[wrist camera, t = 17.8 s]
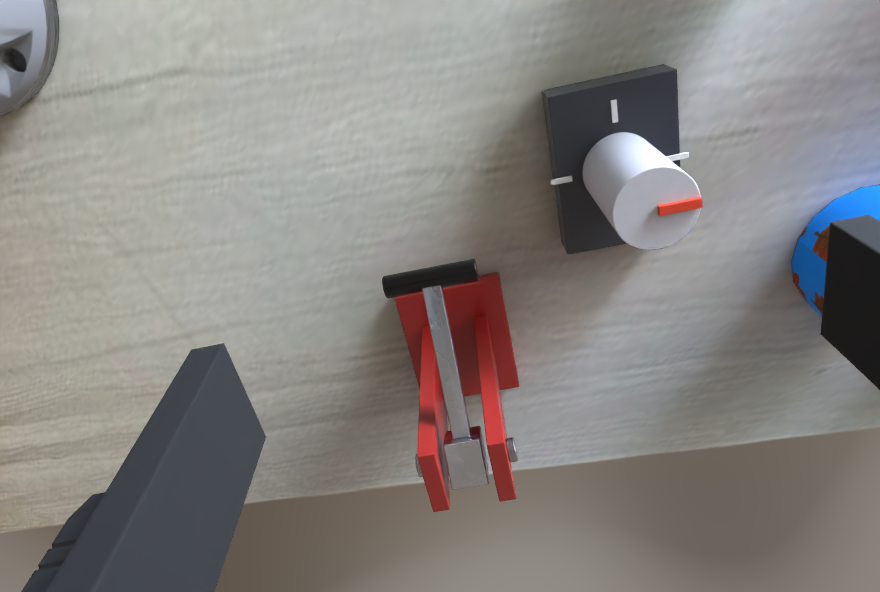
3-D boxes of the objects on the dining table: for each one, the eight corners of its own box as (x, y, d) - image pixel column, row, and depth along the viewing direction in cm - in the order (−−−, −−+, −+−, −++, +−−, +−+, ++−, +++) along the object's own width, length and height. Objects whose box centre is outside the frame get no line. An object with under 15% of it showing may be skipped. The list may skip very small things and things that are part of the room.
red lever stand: (395, 291, 48) (378, 422, 34) (498, 272, 48) (523, 398, 34) (423, 394, 53) (419, 548, 39) (517, 378, 52) (547, 528, 38)
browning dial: (586, 209, 43) (617, 259, 35) (578, 140, 40) (610, 178, 33) (657, 195, 42) (704, 243, 35) (653, 125, 40) (702, 159, 33)
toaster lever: (385, 274, 38) (379, 278, 35) (475, 257, 37) (474, 260, 35) (428, 477, 39) (424, 494, 37) (514, 463, 39) (516, 480, 36)
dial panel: (534, 92, 41) (540, 99, 39) (671, 62, 41) (686, 68, 38) (554, 242, 46) (561, 257, 44) (677, 218, 46) (690, 232, 43)
